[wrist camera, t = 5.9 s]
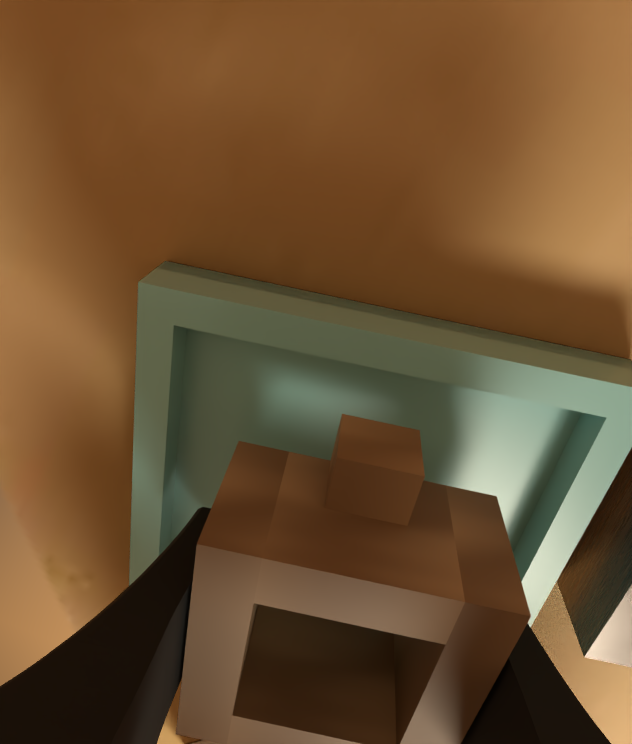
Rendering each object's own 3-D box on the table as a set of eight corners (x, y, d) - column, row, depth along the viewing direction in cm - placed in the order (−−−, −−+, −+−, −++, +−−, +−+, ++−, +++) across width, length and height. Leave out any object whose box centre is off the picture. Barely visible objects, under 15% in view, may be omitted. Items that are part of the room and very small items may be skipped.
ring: (516, 450, 11) (560, 564, 8) (424, 659, 14) (434, 791, 12) (245, 392, 11) (203, 487, 8) (214, 614, 14) (175, 734, 12)
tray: (630, 359, 13) (662, 393, 11) (478, 656, 18) (486, 705, 16) (165, 261, 13) (138, 281, 11) (147, 584, 18) (127, 626, 16)
